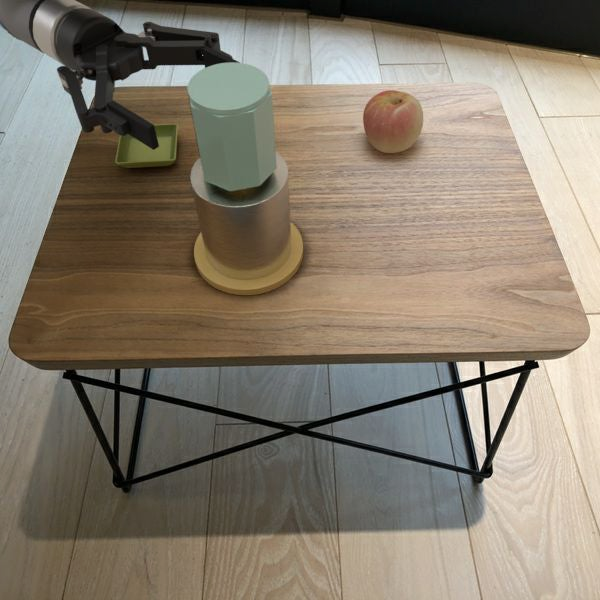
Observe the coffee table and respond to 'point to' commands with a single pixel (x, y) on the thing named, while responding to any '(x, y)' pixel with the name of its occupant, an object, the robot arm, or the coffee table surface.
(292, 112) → the coffee table surface
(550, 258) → the coffee table surface
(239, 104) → the jar
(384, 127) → the apple
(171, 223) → the coffee table surface
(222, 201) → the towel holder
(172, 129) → the saucer
